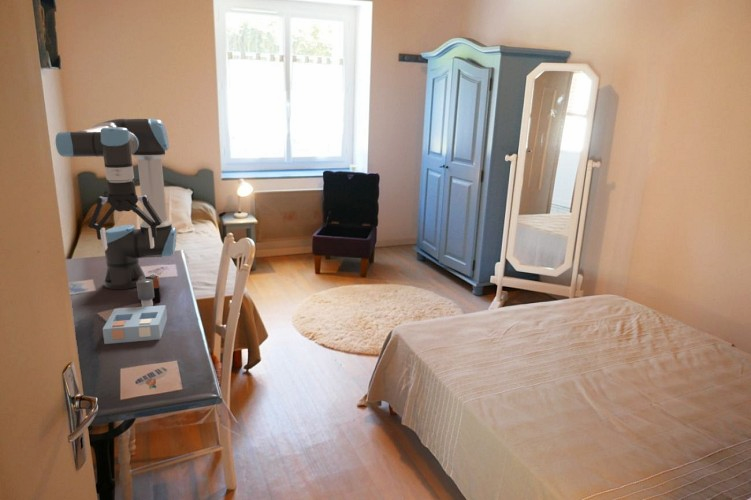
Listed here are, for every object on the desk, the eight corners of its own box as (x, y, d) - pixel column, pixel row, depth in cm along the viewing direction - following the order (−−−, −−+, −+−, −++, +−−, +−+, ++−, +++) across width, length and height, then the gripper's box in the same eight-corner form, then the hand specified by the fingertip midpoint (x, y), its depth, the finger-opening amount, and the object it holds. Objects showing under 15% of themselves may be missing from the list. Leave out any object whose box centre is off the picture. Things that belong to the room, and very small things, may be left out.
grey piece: (141, 311, 183) (137, 279, 180) (157, 310, 184) (153, 278, 181) (138, 317, 178) (134, 284, 175) (155, 315, 180) (151, 283, 176)
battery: (160, 302, 192) (157, 276, 189) (140, 304, 189) (137, 278, 186) (160, 298, 195) (158, 273, 193) (141, 300, 193) (138, 274, 190)
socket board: (116, 322, 174) (114, 307, 172) (167, 318, 177) (165, 304, 176) (104, 344, 158) (101, 328, 157) (160, 339, 162) (158, 324, 161)
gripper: (70, 183, 149) (81, 253, 155) (163, 181, 154) (170, 249, 161) (78, 179, 156) (88, 246, 162) (166, 177, 161) (173, 242, 168)
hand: (129, 248), depth 161 cm, fingers open, 13 cm apart
